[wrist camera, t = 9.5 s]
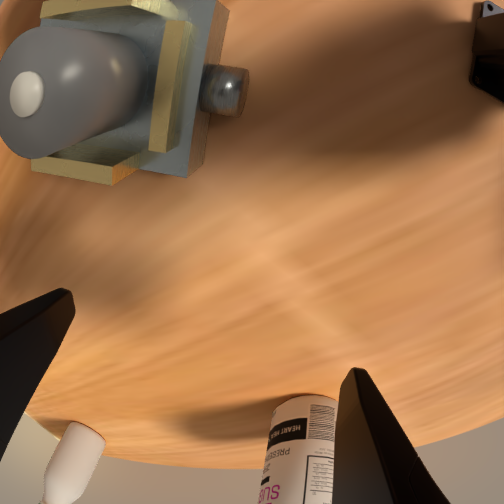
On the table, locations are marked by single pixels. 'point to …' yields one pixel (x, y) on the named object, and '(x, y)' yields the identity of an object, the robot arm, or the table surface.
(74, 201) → the table surface
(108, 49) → the grey rounded piece
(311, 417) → the supplement can
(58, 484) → the milk bottle
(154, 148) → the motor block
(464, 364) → the table surface
